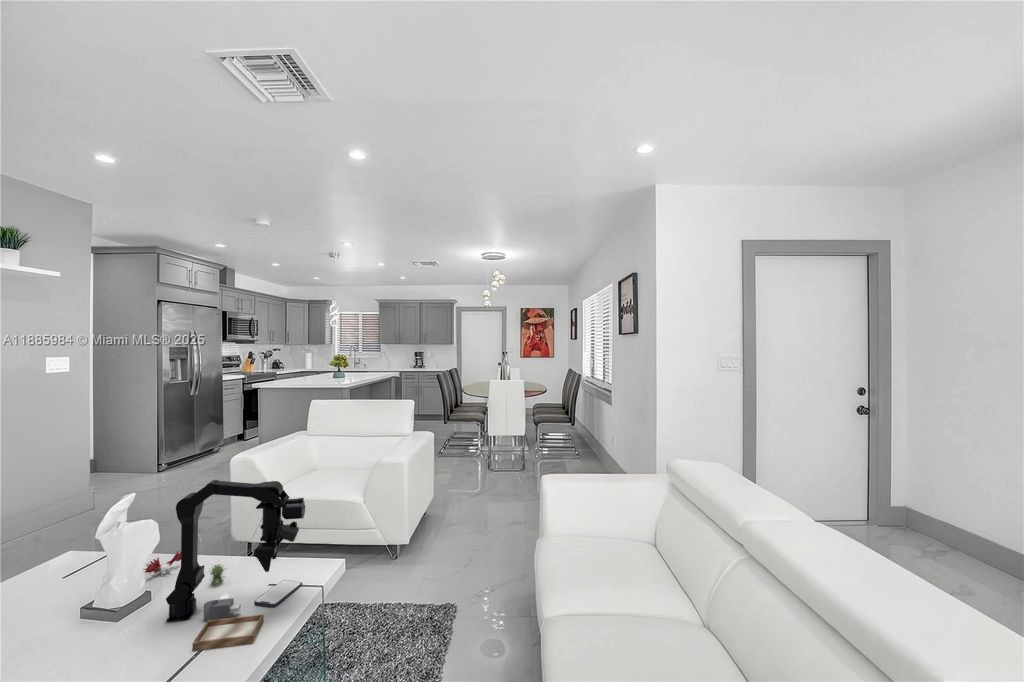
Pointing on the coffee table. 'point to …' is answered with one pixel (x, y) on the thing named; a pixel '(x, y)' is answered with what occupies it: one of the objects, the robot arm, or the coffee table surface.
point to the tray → (228, 632)
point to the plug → (220, 609)
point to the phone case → (277, 594)
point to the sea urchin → (217, 574)
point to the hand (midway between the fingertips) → (270, 565)
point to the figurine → (164, 567)
